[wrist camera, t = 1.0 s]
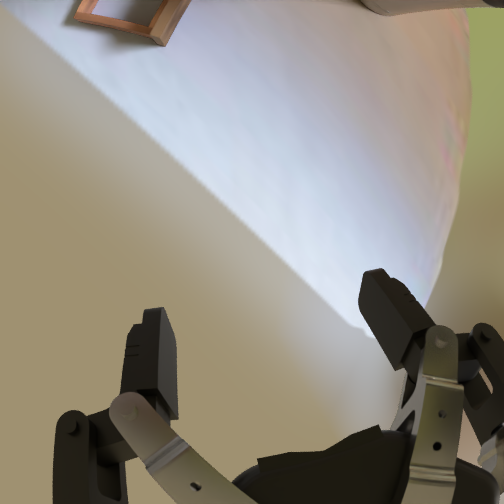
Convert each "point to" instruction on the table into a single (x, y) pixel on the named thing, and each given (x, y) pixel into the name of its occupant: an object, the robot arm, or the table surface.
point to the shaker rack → (157, 30)
